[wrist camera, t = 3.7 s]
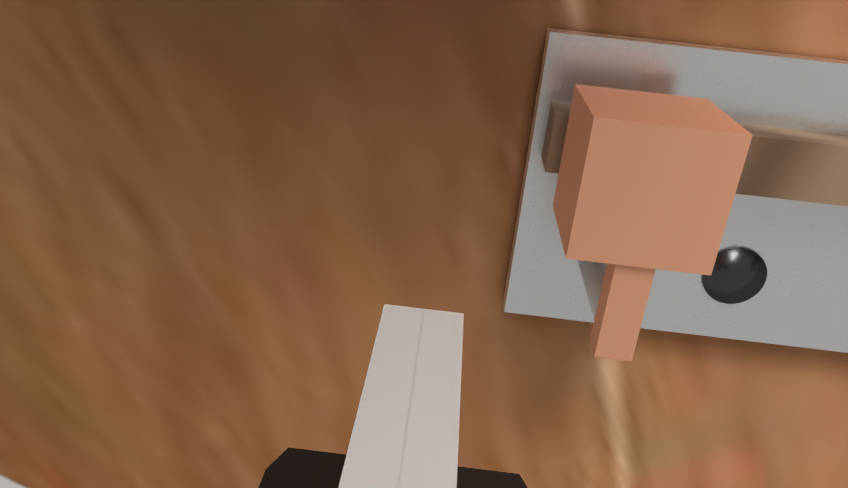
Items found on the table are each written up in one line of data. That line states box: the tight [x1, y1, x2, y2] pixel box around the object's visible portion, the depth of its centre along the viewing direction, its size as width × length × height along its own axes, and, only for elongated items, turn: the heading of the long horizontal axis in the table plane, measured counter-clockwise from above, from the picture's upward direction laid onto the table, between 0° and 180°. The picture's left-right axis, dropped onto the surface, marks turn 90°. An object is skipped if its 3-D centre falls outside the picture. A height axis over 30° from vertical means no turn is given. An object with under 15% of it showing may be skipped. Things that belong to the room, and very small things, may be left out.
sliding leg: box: [553, 84, 753, 361], centre depth 28 cm, size 5×9×7 cm, turn 174°
